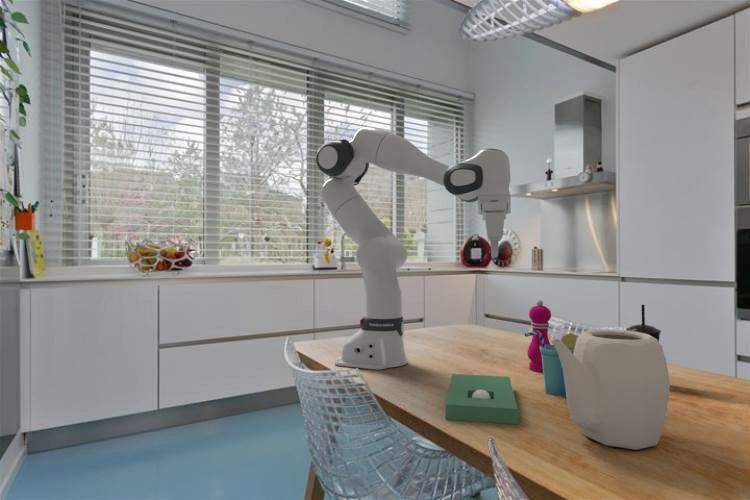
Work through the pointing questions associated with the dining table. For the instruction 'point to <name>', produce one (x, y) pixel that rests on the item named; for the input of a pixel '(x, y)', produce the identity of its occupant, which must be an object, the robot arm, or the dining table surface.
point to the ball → (481, 394)
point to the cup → (554, 363)
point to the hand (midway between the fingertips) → (494, 257)
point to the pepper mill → (539, 323)
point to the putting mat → (480, 409)
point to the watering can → (616, 386)
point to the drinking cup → (645, 327)
